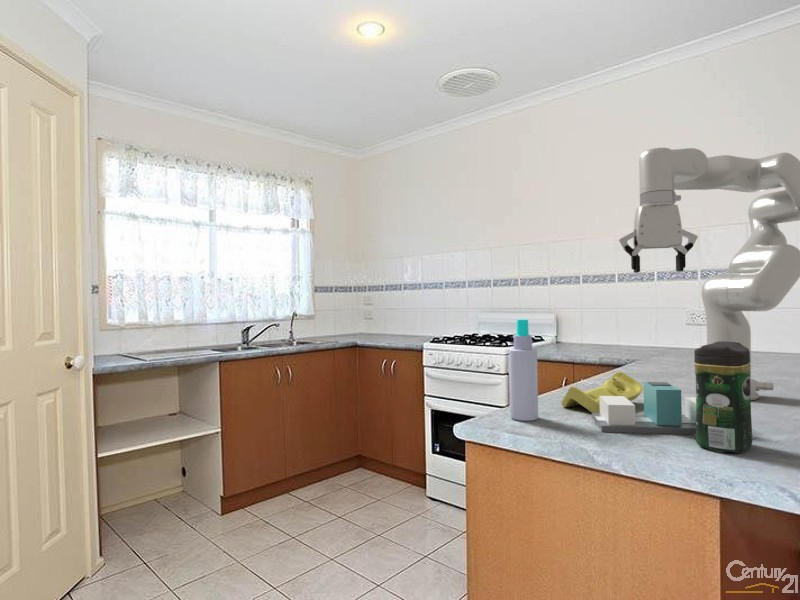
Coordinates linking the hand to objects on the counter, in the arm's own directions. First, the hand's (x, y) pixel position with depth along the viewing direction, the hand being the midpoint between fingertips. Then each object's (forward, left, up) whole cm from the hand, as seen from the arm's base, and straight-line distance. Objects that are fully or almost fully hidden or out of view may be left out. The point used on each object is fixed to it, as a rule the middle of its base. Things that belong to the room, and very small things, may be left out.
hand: (658, 271), depth 122 cm
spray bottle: (+33, +17, -32) cm, 49 cm away
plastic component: (+13, +3, -33) cm, 36 cm away
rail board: (+6, +21, -32) cm, 39 cm away
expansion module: (+6, +21, -31) cm, 38 cm away
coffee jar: (-1, +34, -32) cm, 47 cm away
